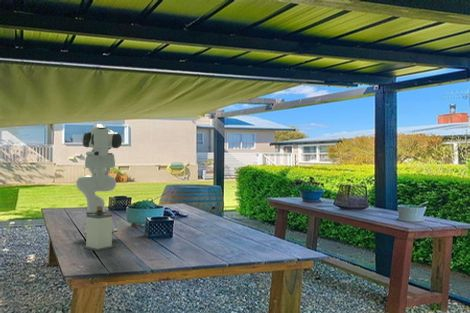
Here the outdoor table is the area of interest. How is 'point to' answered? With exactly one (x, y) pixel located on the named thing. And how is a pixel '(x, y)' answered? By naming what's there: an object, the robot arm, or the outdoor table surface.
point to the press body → (99, 232)
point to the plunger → (99, 210)
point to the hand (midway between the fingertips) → (100, 175)
